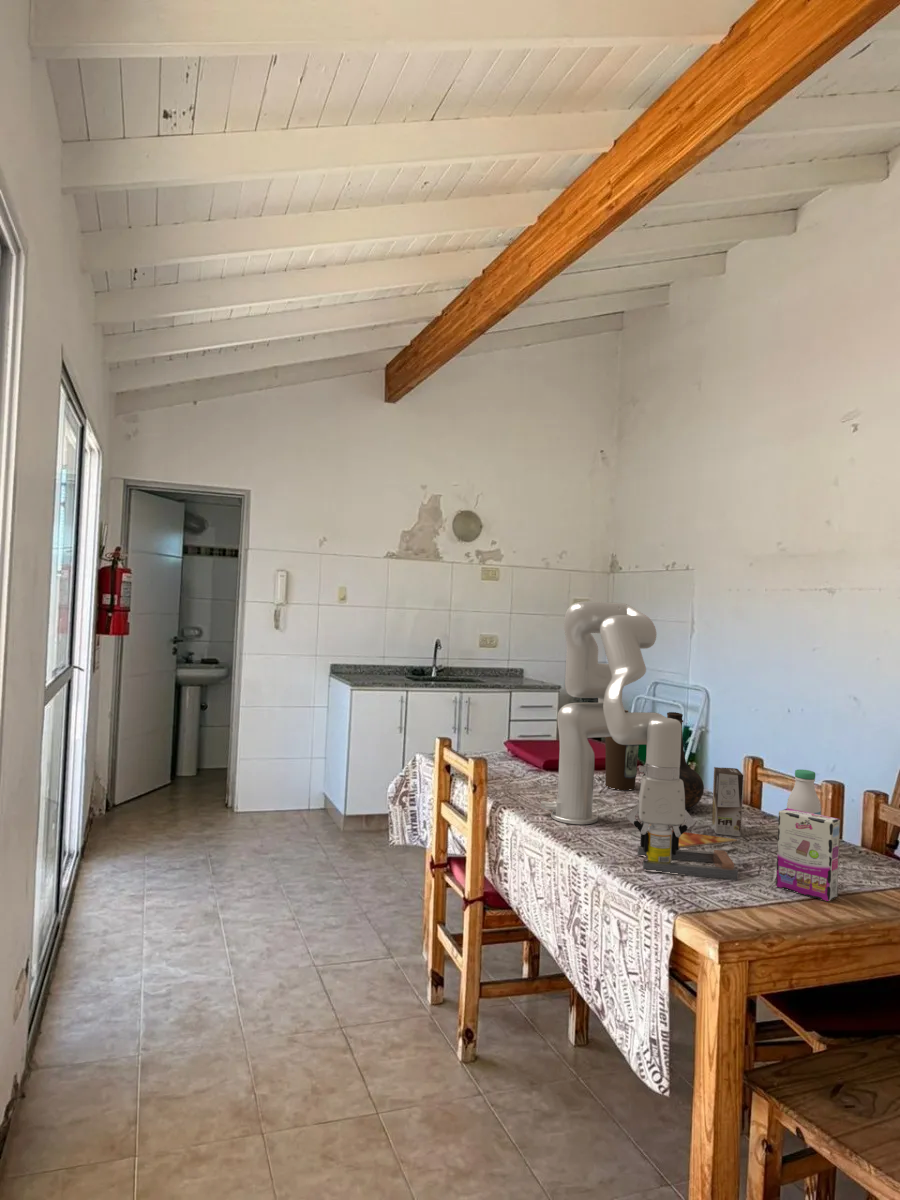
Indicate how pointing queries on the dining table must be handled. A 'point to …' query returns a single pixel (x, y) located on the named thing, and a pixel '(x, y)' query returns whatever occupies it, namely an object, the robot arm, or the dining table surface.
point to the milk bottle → (804, 793)
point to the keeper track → (717, 857)
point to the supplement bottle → (659, 843)
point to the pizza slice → (700, 839)
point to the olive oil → (620, 764)
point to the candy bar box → (808, 853)
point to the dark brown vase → (688, 773)
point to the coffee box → (727, 801)
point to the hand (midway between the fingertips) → (659, 850)
